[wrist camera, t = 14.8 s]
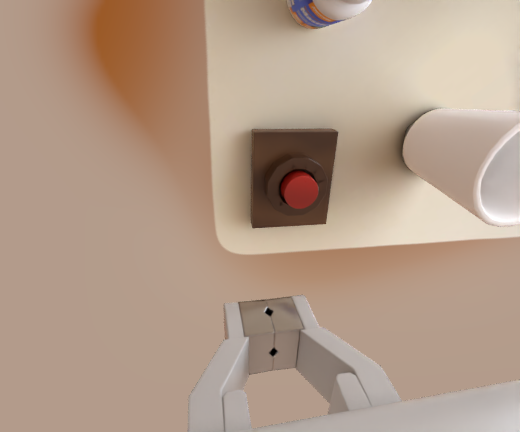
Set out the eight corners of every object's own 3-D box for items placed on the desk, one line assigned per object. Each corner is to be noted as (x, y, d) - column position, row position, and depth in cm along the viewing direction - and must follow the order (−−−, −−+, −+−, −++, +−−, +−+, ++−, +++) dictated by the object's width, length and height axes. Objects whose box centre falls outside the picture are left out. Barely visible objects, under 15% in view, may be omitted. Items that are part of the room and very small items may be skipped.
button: (281, 171, 32) (285, 176, 30) (314, 170, 32) (320, 175, 31) (279, 203, 33) (283, 209, 32) (311, 201, 34) (316, 208, 32)
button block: (251, 129, 32) (256, 135, 29) (332, 128, 34) (345, 135, 31) (250, 221, 37) (254, 236, 34) (321, 218, 39) (331, 231, 35)
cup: (384, 184, 38) (461, 235, 27) (394, 101, 34) (491, 118, 22) (456, 175, 39) (559, 219, 28) (476, 93, 35) (607, 106, 23)
